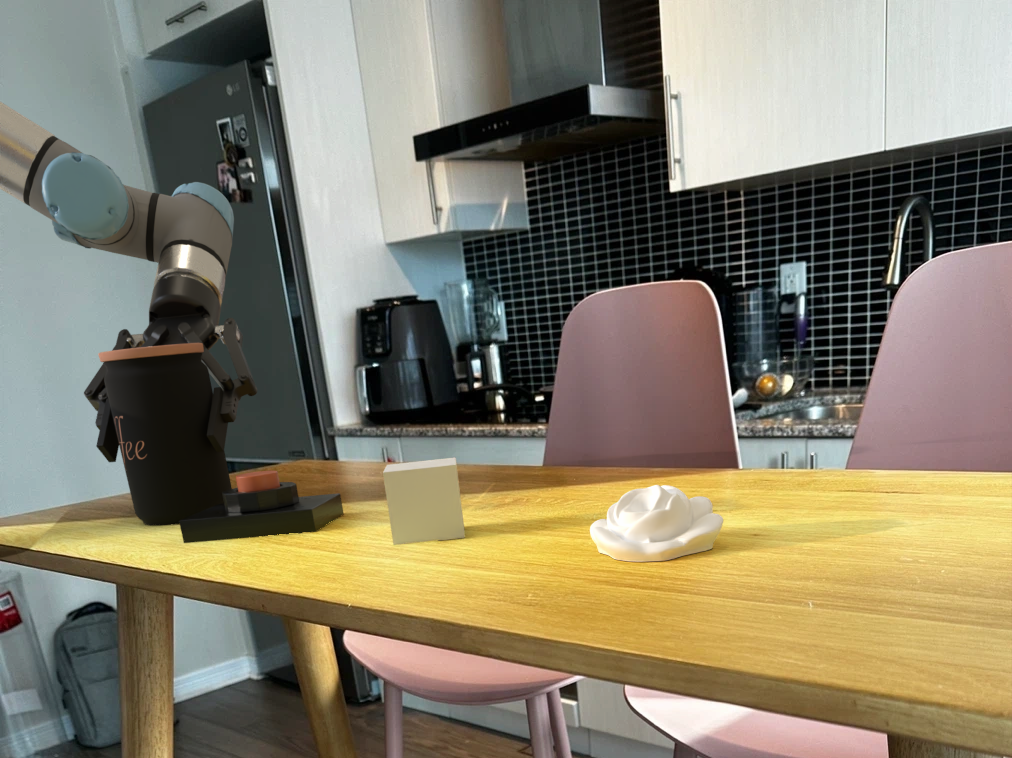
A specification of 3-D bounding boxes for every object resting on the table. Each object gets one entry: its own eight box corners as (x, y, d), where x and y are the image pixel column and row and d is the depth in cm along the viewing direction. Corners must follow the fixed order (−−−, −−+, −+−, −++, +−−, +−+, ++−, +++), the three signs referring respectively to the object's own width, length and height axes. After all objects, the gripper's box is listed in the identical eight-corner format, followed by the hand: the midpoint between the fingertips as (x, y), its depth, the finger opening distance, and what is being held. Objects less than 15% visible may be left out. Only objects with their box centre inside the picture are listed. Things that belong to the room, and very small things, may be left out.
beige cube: (464, 526, 91) (456, 457, 89) (465, 538, 86) (456, 464, 84) (396, 533, 91) (386, 464, 89) (393, 545, 85) (382, 472, 83)
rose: (742, 472, 74) (696, 495, 66) (744, 533, 76) (699, 563, 68) (615, 476, 79) (558, 498, 71) (619, 534, 80) (564, 562, 72)
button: (232, 496, 99) (229, 478, 98) (247, 490, 102) (244, 472, 102) (272, 493, 98) (269, 474, 97) (286, 487, 102) (282, 469, 101)
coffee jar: (140, 518, 119) (102, 353, 112) (235, 505, 121) (203, 344, 115) (134, 531, 109) (92, 352, 103) (237, 517, 111) (202, 341, 105)
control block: (183, 543, 98) (174, 501, 96) (222, 525, 107) (215, 486, 105) (315, 532, 96) (308, 489, 95) (344, 514, 105) (337, 475, 104)
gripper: (298, 312, 121) (280, 461, 112) (106, 333, 123) (74, 480, 114) (275, 260, 114) (254, 414, 105) (72, 283, 117) (35, 436, 108)
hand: (160, 449), depth 110 cm, fingers open, 12 cm apart
